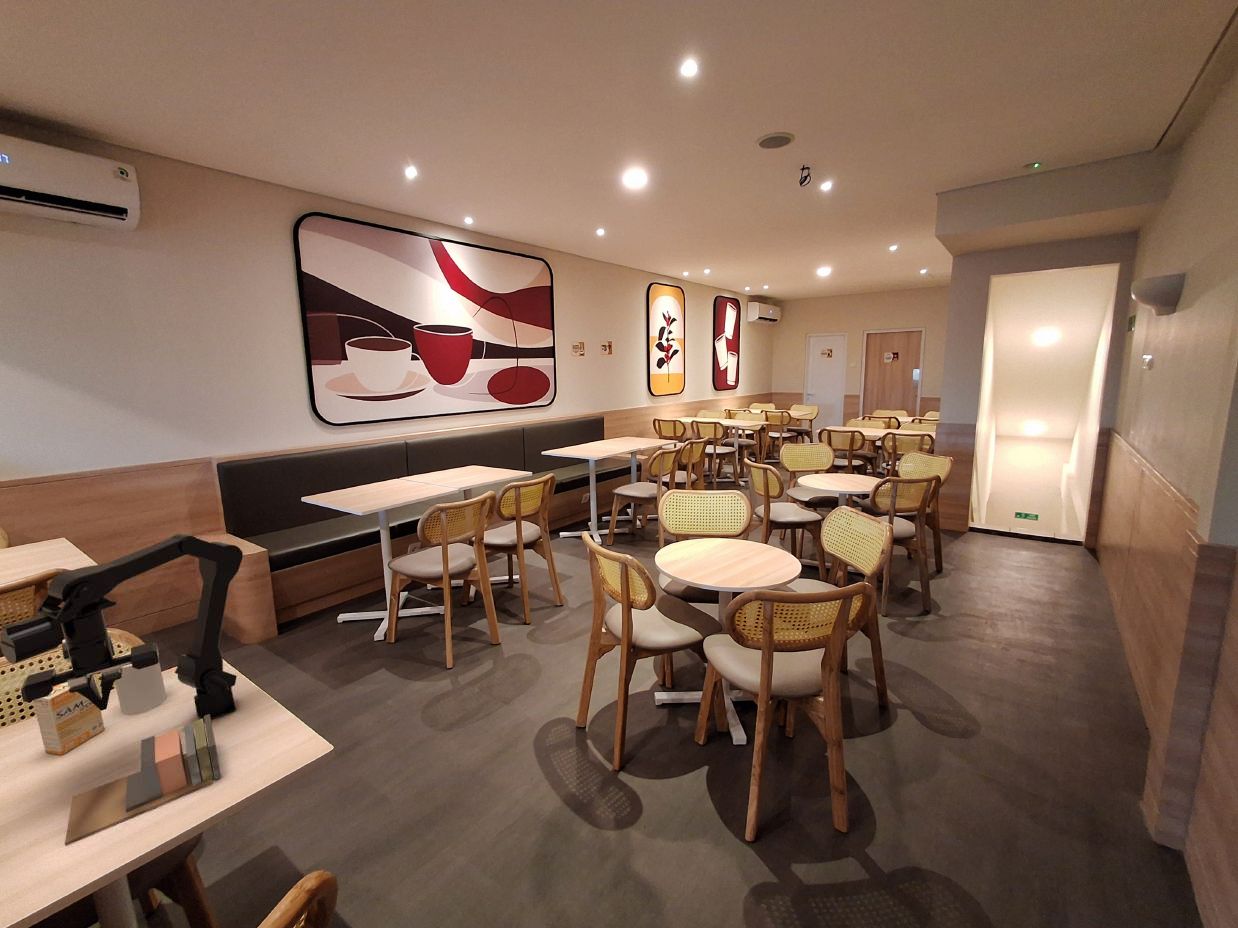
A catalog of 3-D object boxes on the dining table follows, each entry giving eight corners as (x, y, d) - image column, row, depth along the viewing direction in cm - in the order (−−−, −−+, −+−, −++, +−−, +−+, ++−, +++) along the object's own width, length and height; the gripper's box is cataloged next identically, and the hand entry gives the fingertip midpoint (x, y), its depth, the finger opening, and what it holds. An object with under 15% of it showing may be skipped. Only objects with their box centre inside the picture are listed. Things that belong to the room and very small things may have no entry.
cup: (138, 694, 132) (128, 649, 130) (174, 691, 133) (165, 647, 130) (111, 716, 124) (100, 668, 122) (150, 713, 125) (140, 666, 123)
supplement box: (62, 756, 112) (48, 699, 109) (44, 752, 113) (29, 697, 110) (107, 729, 120) (94, 675, 117) (89, 726, 121) (76, 673, 118)
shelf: (215, 744, 115) (209, 712, 113) (221, 779, 105) (215, 745, 103) (73, 798, 101) (64, 763, 99) (65, 845, 91) (55, 807, 90)
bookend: (161, 766, 108) (154, 735, 106) (162, 796, 100) (155, 763, 99) (127, 779, 105) (120, 747, 103) (126, 811, 97) (118, 777, 96)
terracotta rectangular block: (184, 759, 110) (178, 728, 108) (187, 785, 103) (180, 753, 102) (161, 768, 107) (154, 737, 106) (162, 795, 101) (155, 762, 99)
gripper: (150, 606, 115) (164, 672, 118) (22, 636, 103) (41, 709, 106) (151, 625, 107) (165, 696, 110) (11, 661, 95) (32, 739, 98)
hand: (104, 708), depth 106 cm, fingers closed
